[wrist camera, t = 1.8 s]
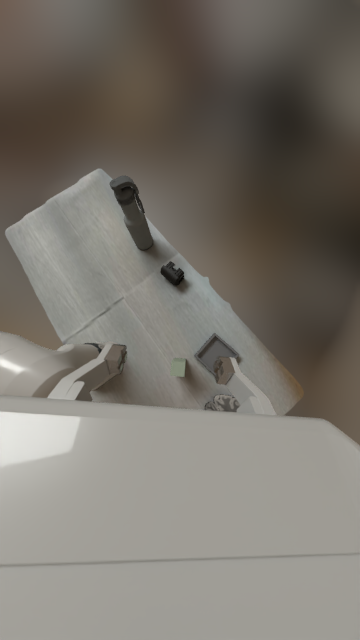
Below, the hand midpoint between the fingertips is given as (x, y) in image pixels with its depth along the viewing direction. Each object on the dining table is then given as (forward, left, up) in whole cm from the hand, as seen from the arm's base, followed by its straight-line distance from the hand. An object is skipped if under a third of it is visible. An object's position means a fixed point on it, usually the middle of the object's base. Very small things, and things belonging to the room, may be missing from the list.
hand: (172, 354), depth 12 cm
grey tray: (+7, -12, -50) cm, 52 cm away
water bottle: (+27, +56, -50) cm, 80 cm away
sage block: (-7, -3, -50) cm, 50 cm away
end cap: (+22, +29, -50) cm, 62 cm away
